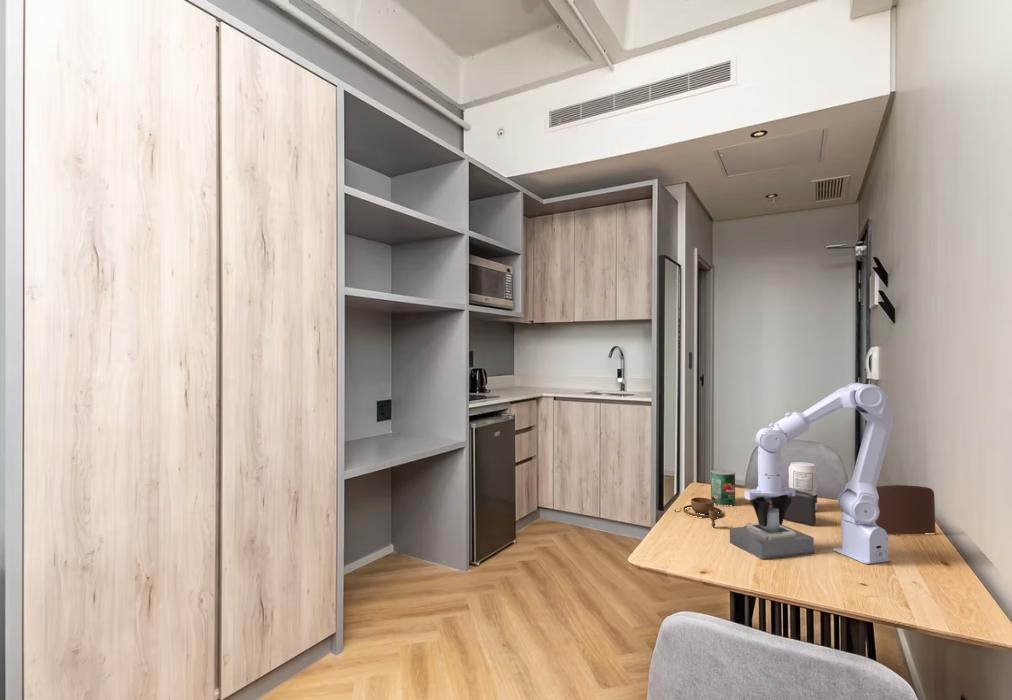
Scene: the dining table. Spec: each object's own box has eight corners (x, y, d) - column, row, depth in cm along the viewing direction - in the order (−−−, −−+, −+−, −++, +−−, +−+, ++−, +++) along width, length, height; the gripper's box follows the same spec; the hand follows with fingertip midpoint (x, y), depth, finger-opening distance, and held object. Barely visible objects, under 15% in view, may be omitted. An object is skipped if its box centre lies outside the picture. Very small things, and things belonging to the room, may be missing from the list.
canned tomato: (733, 507, 173) (733, 475, 173) (709, 504, 177) (708, 472, 177) (737, 501, 179) (736, 470, 180) (713, 498, 183) (712, 468, 184)
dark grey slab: (820, 524, 155) (819, 493, 156) (814, 527, 153) (813, 495, 153) (765, 511, 168) (765, 483, 168) (759, 514, 165) (758, 485, 165)
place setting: (736, 515, 166) (736, 497, 166) (718, 532, 150) (718, 512, 150) (682, 506, 177) (682, 489, 177) (660, 521, 161) (660, 502, 161)
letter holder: (936, 535, 146) (935, 485, 146) (866, 535, 146) (865, 486, 146) (909, 523, 156) (908, 477, 156) (843, 524, 156) (842, 477, 156)
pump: (783, 531, 135) (782, 509, 135) (768, 533, 134) (768, 510, 134) (771, 526, 139) (771, 504, 139) (757, 527, 139) (756, 505, 139)
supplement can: (783, 506, 173) (782, 462, 173) (802, 504, 176) (801, 460, 176) (803, 513, 166) (803, 467, 166) (823, 511, 168) (822, 465, 168)
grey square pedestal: (813, 553, 133) (813, 532, 133) (761, 559, 129) (761, 538, 129) (768, 532, 148) (767, 514, 148) (720, 537, 144) (720, 519, 144)
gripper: (780, 468, 142) (781, 517, 142) (736, 471, 139) (737, 522, 139) (801, 474, 136) (802, 525, 135) (755, 477, 132) (755, 530, 132)
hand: (770, 524), depth 137 cm, fingers closed on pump, 4 cm apart
